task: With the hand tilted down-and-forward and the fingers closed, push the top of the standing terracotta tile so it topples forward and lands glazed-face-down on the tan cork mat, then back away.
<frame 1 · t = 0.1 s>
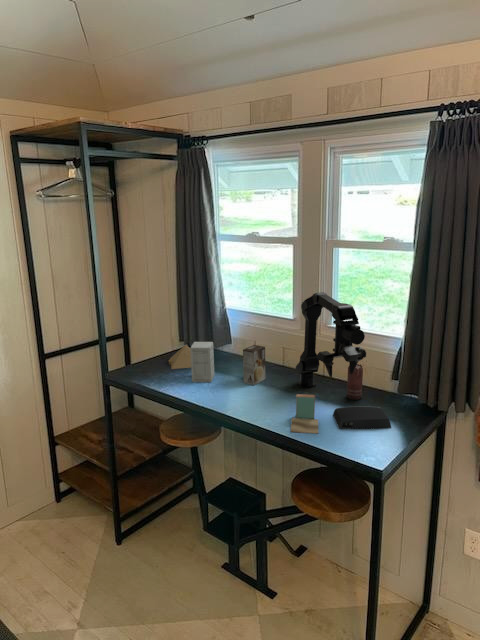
hand: (341, 375, 193), 15 cm above the table, tool pointing down, fingers open, 9 cm apart
supplement box: (203, 379, 231), on the table
model pyramid: (185, 363, 253), on the table
can: (354, 397, 208), on the table
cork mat: (304, 425, 184), on the table
coffee box: (254, 381, 227), on the table
external hard drive: (361, 422, 187), on the table
tile: (305, 417, 191), on the table
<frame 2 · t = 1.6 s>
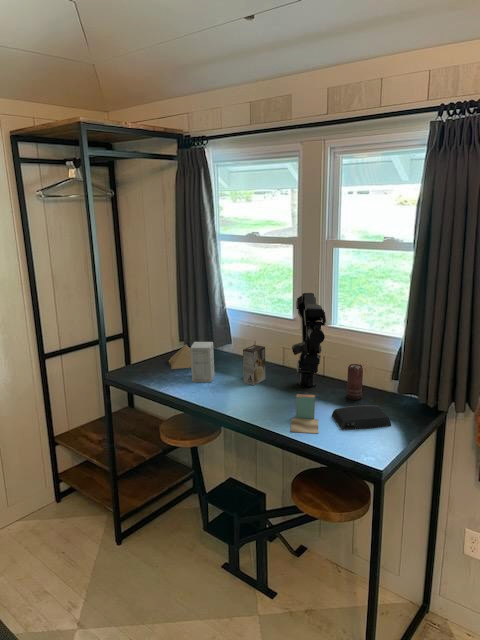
hand: (312, 373, 203), 12 cm above the table, tool pointing down, fingers closed
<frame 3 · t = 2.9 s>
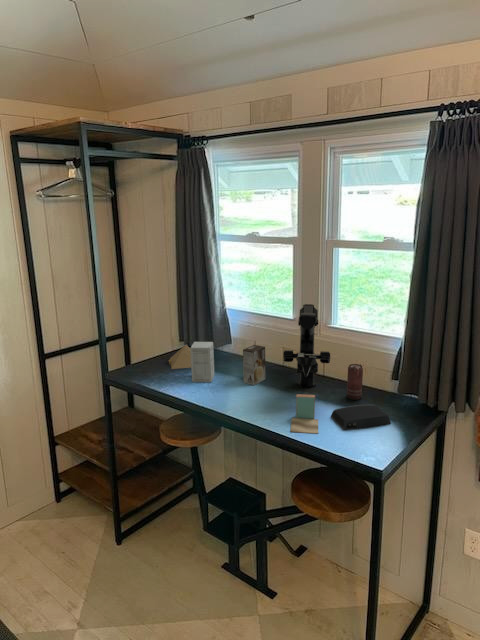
hand: (306, 376, 196), 13 cm above the table, tool tilted 45°, fingers closed
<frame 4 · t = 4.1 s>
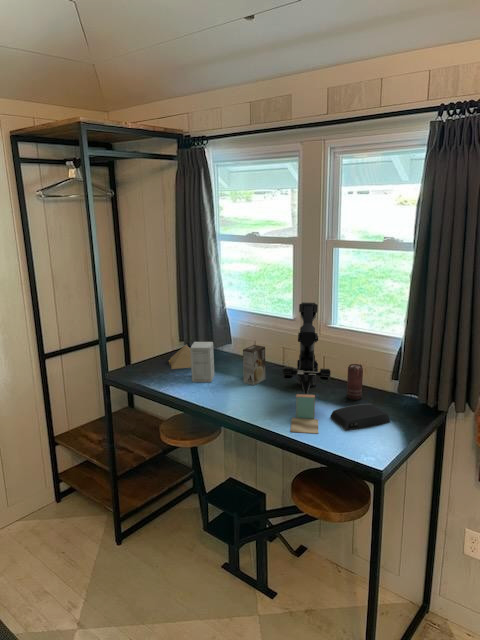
hand: (305, 393, 193), 8 cm above the table, tool tilted 45°, fingers closed
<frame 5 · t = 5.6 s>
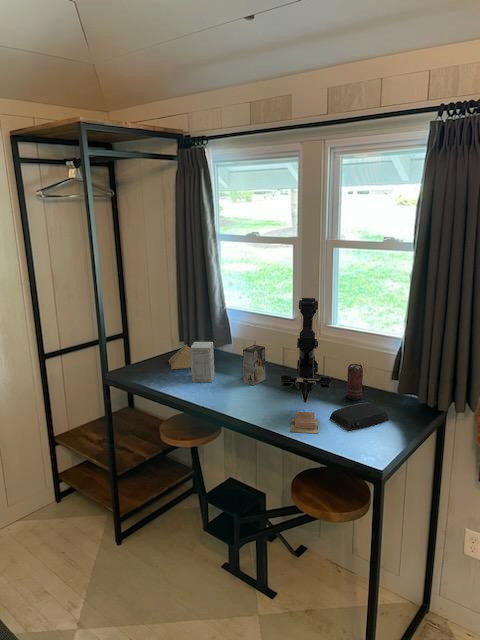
hand: (305, 402, 185), 8 cm above the table, tool tilted 45°, fingers closed
tile: (305, 414, 189), point 2 cm above the table, tilted 90°, touching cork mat
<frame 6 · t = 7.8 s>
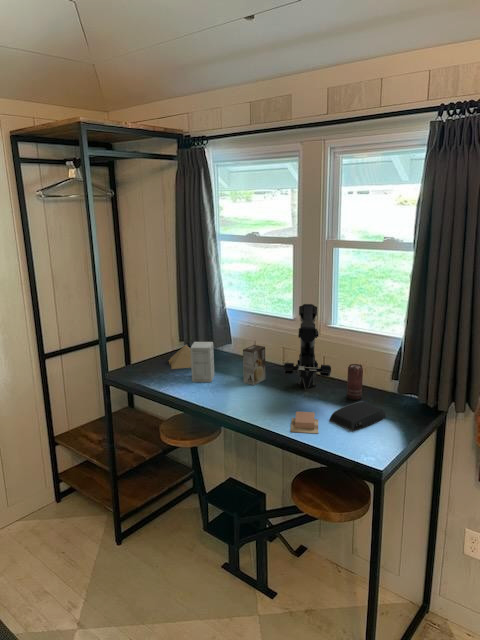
hand: (306, 389, 195), 9 cm above the table, tool tilted 45°, fingers closed
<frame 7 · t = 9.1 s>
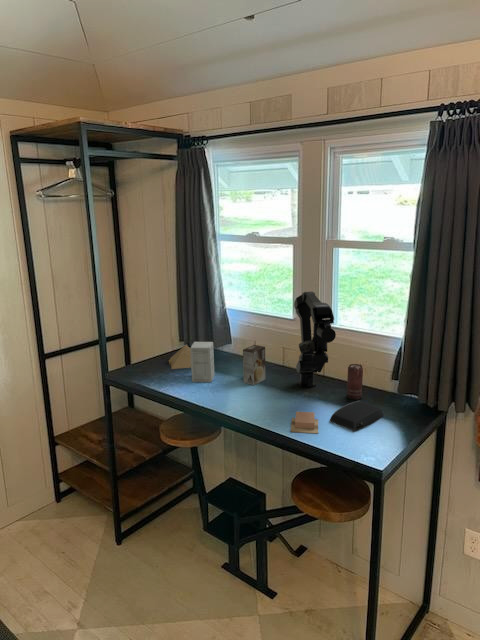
hand: (319, 371, 201), 13 cm above the table, tool pointing down, fingers closed
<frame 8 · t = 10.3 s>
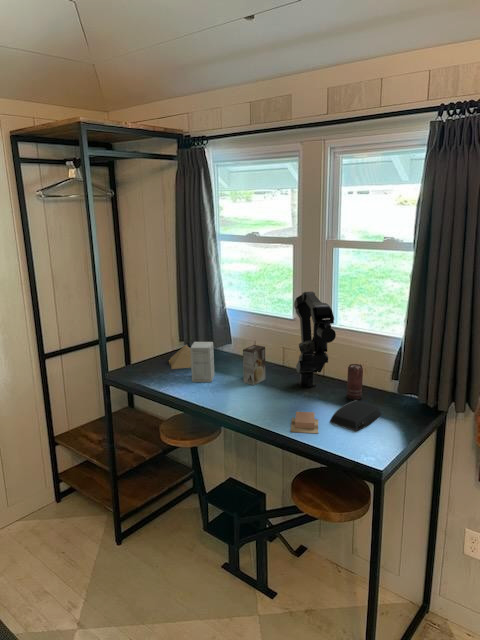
hand: (319, 371, 201), 13 cm above the table, tool pointing down, fingers closed
at the end: tile tilted 90°; tile 6.3 cm from the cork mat (horizontally) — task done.
